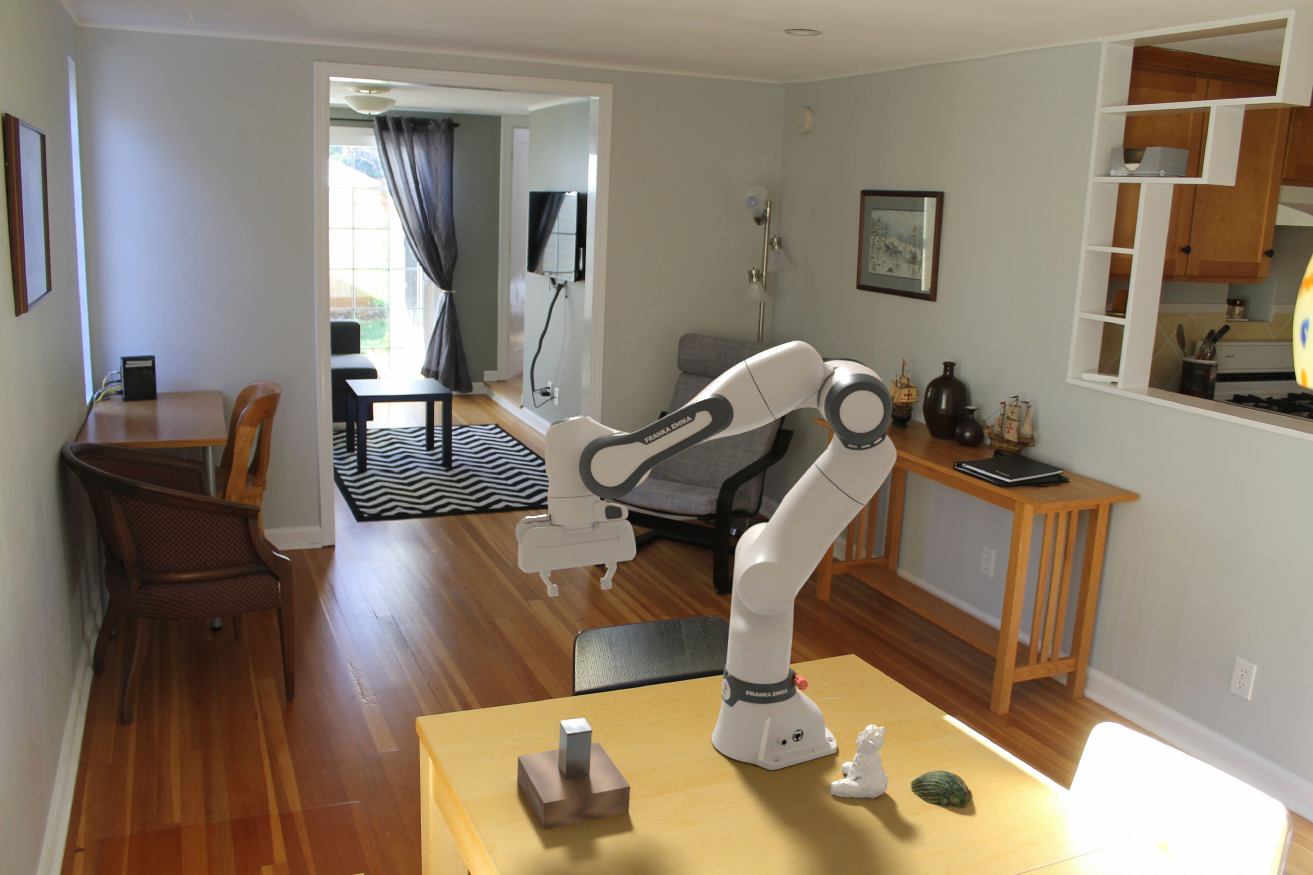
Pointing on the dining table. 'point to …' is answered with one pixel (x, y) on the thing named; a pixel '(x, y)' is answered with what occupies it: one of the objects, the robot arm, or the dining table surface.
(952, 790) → the seashell
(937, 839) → the dining table surface
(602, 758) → the walnut block
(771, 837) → the dining table surface
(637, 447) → the robot arm
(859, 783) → the seated beast figurine
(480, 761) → the dining table surface
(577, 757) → the grey tin
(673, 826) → the dining table surface
